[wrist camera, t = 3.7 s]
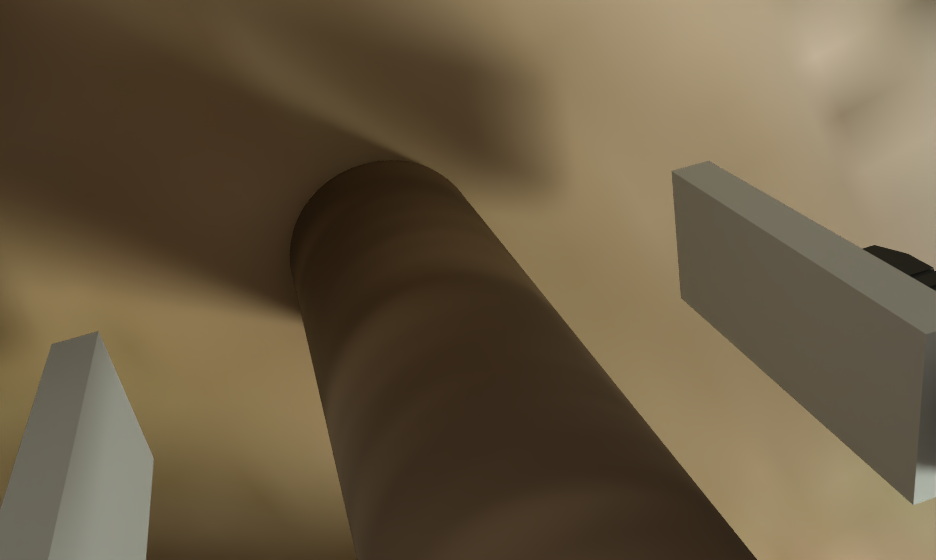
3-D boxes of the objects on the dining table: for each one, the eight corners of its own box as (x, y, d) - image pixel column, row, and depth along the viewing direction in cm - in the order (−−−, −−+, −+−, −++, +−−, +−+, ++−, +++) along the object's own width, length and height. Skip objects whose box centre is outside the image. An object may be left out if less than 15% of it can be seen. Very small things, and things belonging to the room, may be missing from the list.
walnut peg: (317, 359, 19) (460, 956, 9) (266, 189, 17) (368, 685, 7) (492, 307, 20) (823, 804, 9) (460, 138, 18) (828, 518, 7)
